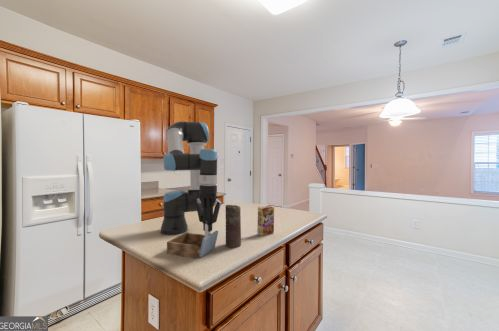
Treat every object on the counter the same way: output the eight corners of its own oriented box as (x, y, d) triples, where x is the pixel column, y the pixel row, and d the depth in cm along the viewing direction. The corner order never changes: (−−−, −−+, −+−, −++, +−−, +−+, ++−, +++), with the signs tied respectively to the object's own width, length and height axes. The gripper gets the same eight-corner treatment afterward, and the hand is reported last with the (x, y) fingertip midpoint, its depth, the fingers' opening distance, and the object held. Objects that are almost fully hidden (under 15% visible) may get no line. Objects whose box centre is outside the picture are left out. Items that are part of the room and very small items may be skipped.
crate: (167, 255, 100) (166, 242, 100) (186, 244, 113) (186, 232, 113) (196, 260, 95) (196, 246, 95) (213, 248, 108) (213, 235, 108)
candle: (225, 244, 113) (225, 203, 113) (240, 243, 114) (240, 203, 113) (225, 250, 106) (225, 207, 105) (241, 249, 106) (241, 206, 106)
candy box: (261, 236, 125) (261, 208, 125) (257, 234, 129) (257, 207, 128) (274, 233, 130) (274, 206, 129) (269, 231, 133) (269, 205, 133)
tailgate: (198, 258, 96) (202, 238, 95) (212, 248, 107) (216, 230, 106) (200, 259, 95) (204, 239, 94) (214, 249, 107) (218, 231, 106)
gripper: (190, 184, 99) (190, 239, 99) (217, 186, 94) (216, 243, 95) (200, 183, 106) (199, 233, 106) (225, 184, 101) (224, 237, 102)
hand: (207, 238), depth 101 cm, fingers closed
